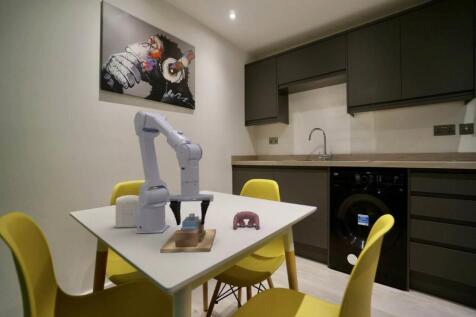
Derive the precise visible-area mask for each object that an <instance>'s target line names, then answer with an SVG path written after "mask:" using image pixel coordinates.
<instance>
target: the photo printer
mask: <svg viewBox="0 0 476 317" xmlns="http://www.w3.org/2000/svg"><path fill="white" fill-rule="evenodd" d="M140 207H142V205H141V204H140V202H139V195H135V194H130V195H122V196H119V197H117V198H116V200H115V228H137V211H138V209H139V208H140Z"/></svg>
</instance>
